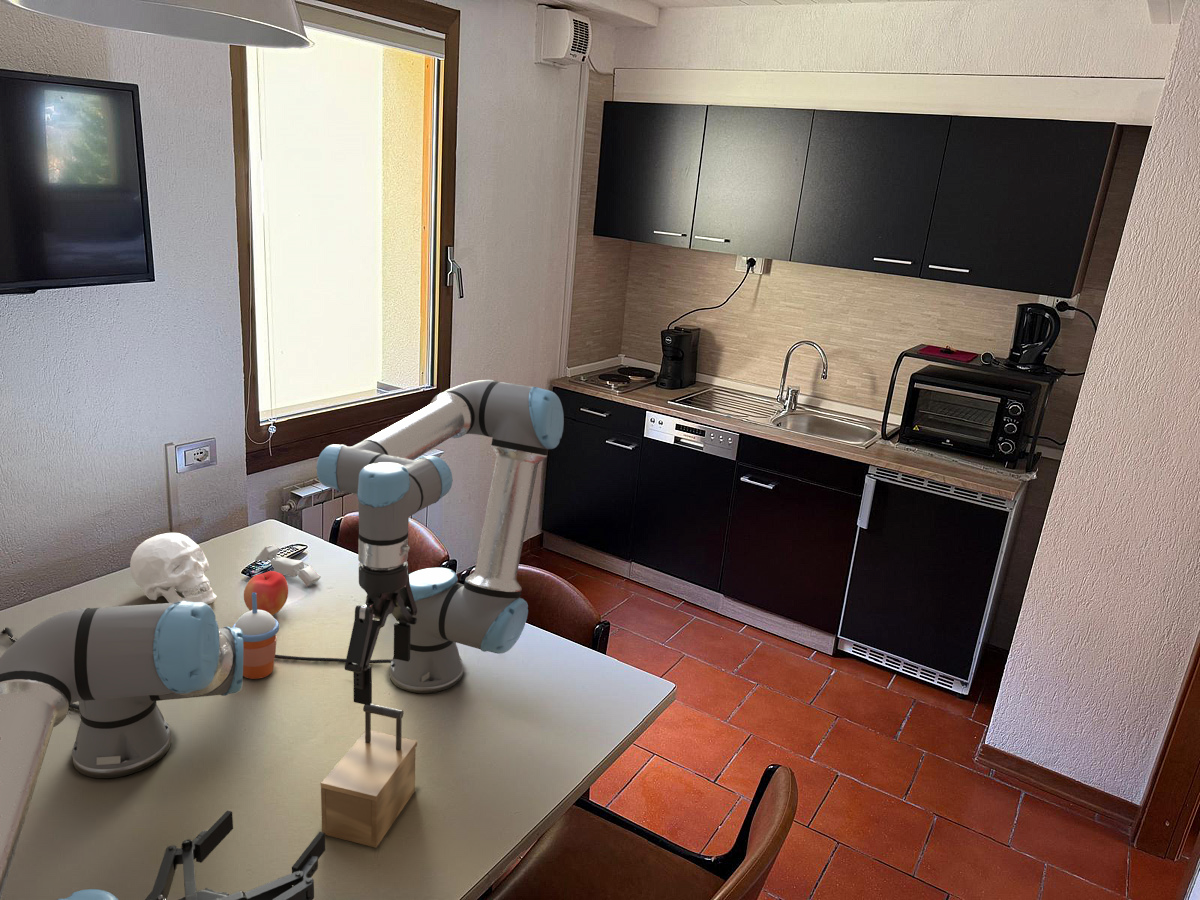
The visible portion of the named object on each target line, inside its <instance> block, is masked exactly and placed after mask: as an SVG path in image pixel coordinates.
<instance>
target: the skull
mask: <svg viewBox="0 0 1200 900" xmlns="http://www.w3.org/2000/svg"><path fill="white" fill-rule="evenodd" d="M129 564H130V565H129V569H130V574H131V577H132V579H133V581H134V582H135V584H136V585H137V586H138V587H139V589H140V591H142V592H143V594H144V595H145V596H146V598H148V599H149V600H152V601H156V600H157V599H158V598H159V597H164V598H165V599H166V601H167V603H177V602H179V601H190V602H202V603H205V604H207V605H209V604H211V603H214V602H215V601H216V600H217V594H216V593H214V591H213V588H212V587H211V581H210V580H209V578H208V577H207V576H206V575H205V573H206V572H207V571H209V570H210V565H209V561H208V559H207V557H206V555H205V552H204V551H203V549H202V548H201V546H199V545H198V543H197V542H195V541H194V540H193V539H191V538H190V537H189V536H187V535H186V534H182V533H180V532H166V533H161V534H160V533H159V534H157V535H154V536H152V537H149V538H147V539H146V540H143V541H142V542H141V543H140V544H139V545H138V546H137V547H135V549H134V551H133V552H132V554H131V558H130V562H129ZM175 589H176V590H175ZM177 592H179V593H181V595H182V596H183V597H181V596H180V595H179V593H177Z"/></svg>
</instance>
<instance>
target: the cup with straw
mask: <svg viewBox="0 0 1200 900" xmlns="http://www.w3.org/2000/svg"><path fill="white" fill-rule="evenodd" d="M232 627H237V628H240V629H241V630H242V631H243V677H244V678H246V679H251V680H257V679H258V680H259V679H263V678H265V677H268V676H269V675H271V674H272V673H273V671H274V667H275V666H274V664H275V659H276V658H275V655H276V651H277V649H276V648H277V634H278V632H279V630H280V623H279V621H278V620H277V619H276V618H275V617H274V615H273V616H272V615H271V614H270V613H268V612H266V611H264V610H257V597H256V593H255V592H254V593H252V610H248V611H245V612H244V613H242V614H241V615H240V616H239V617H238V619H237V620H236V621H235V622H234V624H233V625H232Z"/></svg>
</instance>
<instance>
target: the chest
mask: <svg viewBox="0 0 1200 900" xmlns="http://www.w3.org/2000/svg"><path fill="white" fill-rule="evenodd" d="M416 748H417V747H416ZM416 748H415V749H414V750H413V752H412V753H411V754H410V756H409V757H408V759H407V760H406V761H405V763H404V764H403V765H402V767H401V768H400V769H399V771H398V772H397V774H396V775H395V776H394V778H393V779H392V780H391V782H390V783H389V785H388V786H387V787H386V789H385V790H384V791H383V793H382V794H381V795H380V797H379V798H378V800H377V801H373V800H369V799H365V798H361V797H357V796H353V795H349V794H345V793H341V792H337V791H332V790H328V789H324V788H321V787H320V805H321V806H320V807H321V808H320V809H321V811H320V813H321V832H323V833H325V836H329V837H333V838H337V839H340V840H344V841H348V842H352V843H355V844H359V845H364V846H366V847H367V846H368V847H371V848H376V849H377V848H378V846H379V845H380V843H382V840H383V839H384V837H385V836H386V834H387V833H388V831H389V830H390V828H391V827H392V825H393V824H394V823H395V821H396V819H397V818H398V817H399V815H400V814H401V812H402V811H403V809H404V808H405V806H406V805H407V803H408V802H409V800H410V799H411V798H412V796H413V794H415V792H416Z"/></svg>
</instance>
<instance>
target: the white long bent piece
mask: <svg viewBox="0 0 1200 900" xmlns="http://www.w3.org/2000/svg"><path fill="white" fill-rule="evenodd" d="M280 549H281V547H279V546H278V545H277V544H272V545H266V546H264V547H263V549H262V550H261V551H260V552H259V554H258V555H257V556H256V557H255V559H254V562H255V563H256V561H259V560H262V561H268V560H271V562H270V563H269V564H271V565H272V566H273V568H274V571H275V572H278V573H281V574H282V575H283V576H288V577H292V578H296V577H298V578H299V579H300V580H301V582H303V584H304V585H305V587H309V586H312V585H314V584H316V583H318V582H319V580H320V579H321V578H322V577H321V575H320V574H319V573H318V572H317V570H315V569H314V568H313V566H312V565H310V564H309V565H308V564H307V563H305V562H304V561H303V560H301V559H300V560H299V559H292V558H289V557H285V556H278V553H279V551H280ZM273 558H274V559H273ZM272 559H273V560H272ZM305 566H306V567H305ZM270 571H271V570H270Z"/></svg>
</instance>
